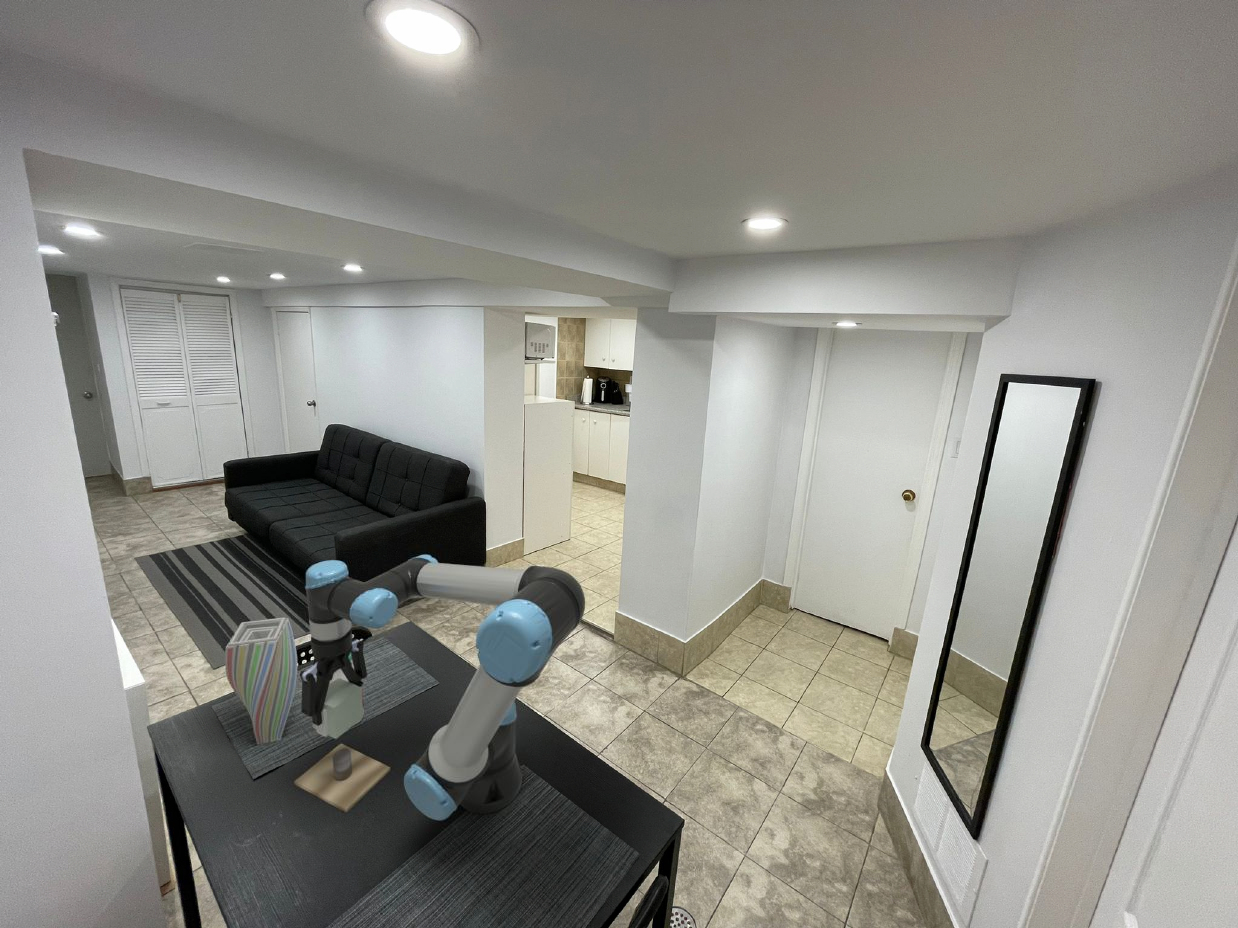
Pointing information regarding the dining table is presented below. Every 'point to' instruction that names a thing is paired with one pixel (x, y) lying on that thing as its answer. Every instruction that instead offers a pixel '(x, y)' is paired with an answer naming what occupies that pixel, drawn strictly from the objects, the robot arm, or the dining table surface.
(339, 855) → the dining table surface
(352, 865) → the dining table surface
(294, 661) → the vase
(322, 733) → the robot arm
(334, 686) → the pale green block
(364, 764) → the post base
